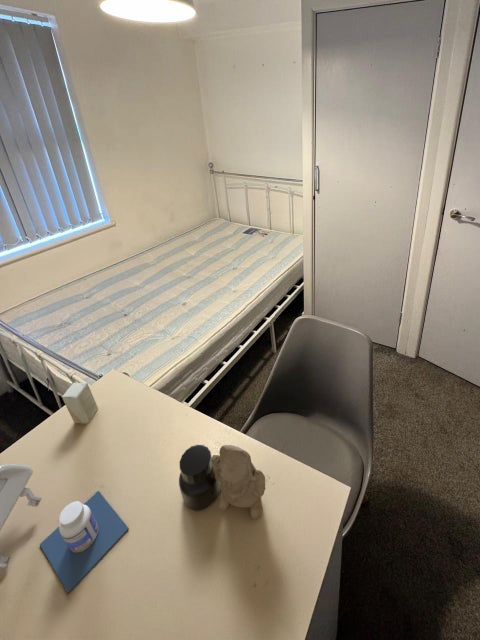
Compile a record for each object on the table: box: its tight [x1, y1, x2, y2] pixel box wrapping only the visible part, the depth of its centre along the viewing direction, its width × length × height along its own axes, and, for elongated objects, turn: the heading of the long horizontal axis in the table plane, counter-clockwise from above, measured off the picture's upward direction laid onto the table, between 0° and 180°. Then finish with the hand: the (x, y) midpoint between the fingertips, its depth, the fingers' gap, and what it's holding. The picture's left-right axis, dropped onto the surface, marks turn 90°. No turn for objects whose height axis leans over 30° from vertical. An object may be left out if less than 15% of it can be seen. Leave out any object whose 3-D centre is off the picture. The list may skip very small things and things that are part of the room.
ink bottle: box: [178, 443, 221, 512], centre depth 74 cm, size 10×9×12 cm
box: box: [61, 382, 99, 424], centre depth 92 cm, size 5×4×11 cm
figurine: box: [211, 444, 266, 520], centre depth 70 cm, size 13×7×20 cm, turn 72°
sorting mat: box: [39, 490, 130, 594], centre depth 69 cm, size 13×12×1 cm
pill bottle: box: [58, 500, 98, 552], centre depth 66 cm, size 5×5×10 cm
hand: (24, 530), depth 68 cm, fingers open, 8 cm apart
